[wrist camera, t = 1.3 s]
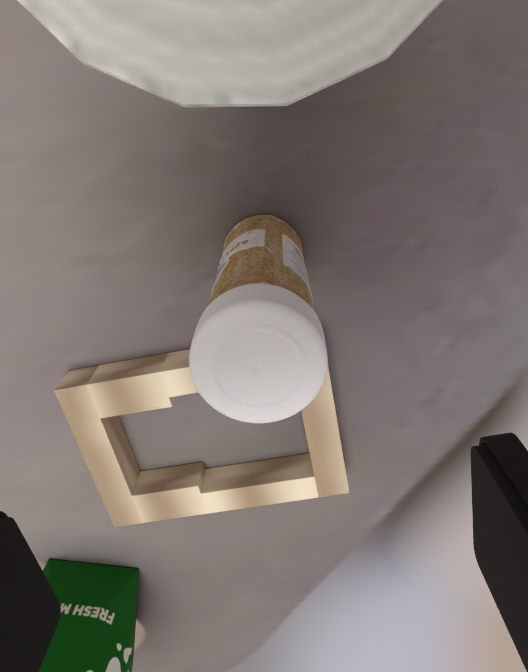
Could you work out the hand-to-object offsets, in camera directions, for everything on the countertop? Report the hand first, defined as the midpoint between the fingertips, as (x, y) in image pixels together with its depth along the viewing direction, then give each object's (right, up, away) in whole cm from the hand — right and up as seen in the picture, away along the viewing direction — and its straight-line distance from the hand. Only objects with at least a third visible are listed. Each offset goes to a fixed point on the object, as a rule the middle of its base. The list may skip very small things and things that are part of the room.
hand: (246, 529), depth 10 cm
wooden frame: (-3, -2, +23) cm, 23 cm away
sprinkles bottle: (0, +9, +18) cm, 20 cm away
